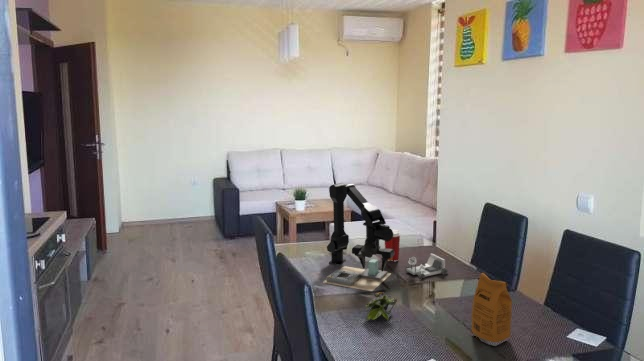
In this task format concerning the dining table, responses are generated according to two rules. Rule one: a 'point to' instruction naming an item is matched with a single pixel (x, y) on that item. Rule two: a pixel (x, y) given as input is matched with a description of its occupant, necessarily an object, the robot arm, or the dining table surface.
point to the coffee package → (491, 310)
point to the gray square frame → (379, 276)
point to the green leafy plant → (380, 306)
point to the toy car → (427, 266)
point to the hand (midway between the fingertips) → (373, 269)
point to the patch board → (361, 280)
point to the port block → (348, 280)
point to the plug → (373, 267)
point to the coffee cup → (394, 244)
